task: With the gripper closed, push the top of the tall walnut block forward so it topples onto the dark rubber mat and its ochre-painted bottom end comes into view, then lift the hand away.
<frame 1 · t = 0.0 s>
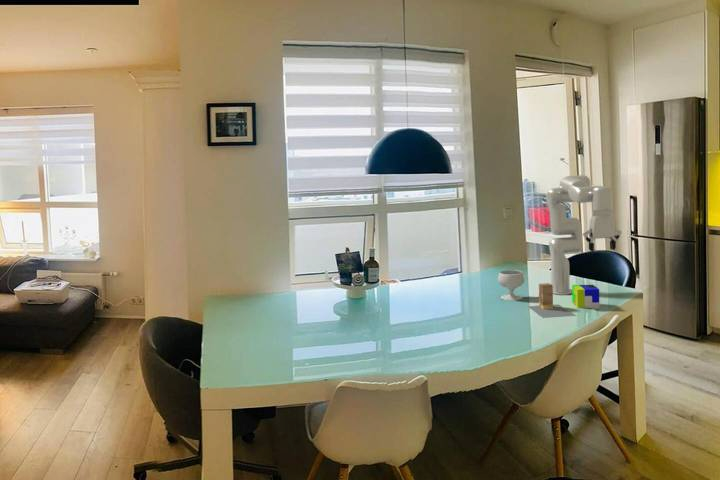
hand: (602, 250, 207), 31 cm above the table, tool pointing down, fingers open, 9 cm apart
walnut block: (546, 307, 227), point 1 cm above the table, touching rubber mat
rubber mat: (551, 311, 221), on the table
puzzle toy: (585, 306, 227), on the table
chalice: (511, 298, 250), on the table
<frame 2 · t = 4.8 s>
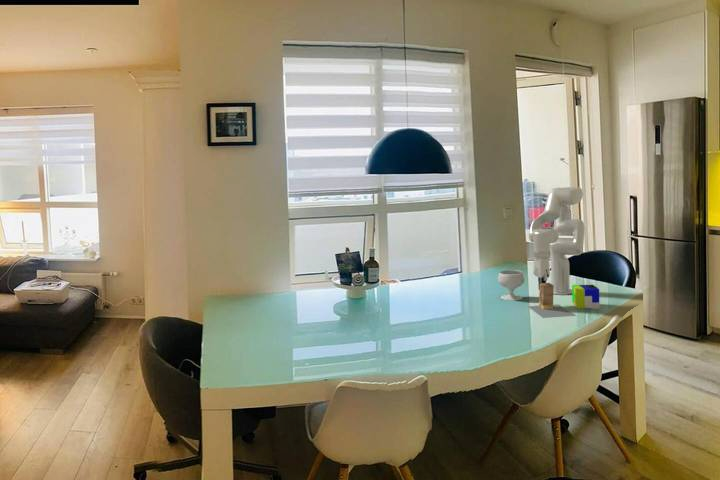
hand: (542, 289, 230), 9 cm above the table, tool pointing down, fingers closed
walnut block: (546, 307, 227), point 1 cm above the table, tilted 5°, touching rubber mat
everything else where it was.
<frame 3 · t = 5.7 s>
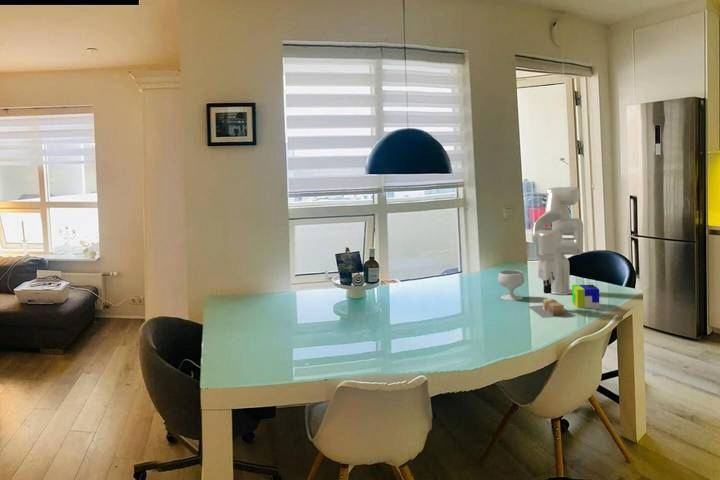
hand: (547, 292, 224), 9 cm above the table, tool pointing down, fingers closed
walnut block: (548, 304, 224), point 3 cm above the table, tilted 90°, touching rubber mat
everything else where it was.
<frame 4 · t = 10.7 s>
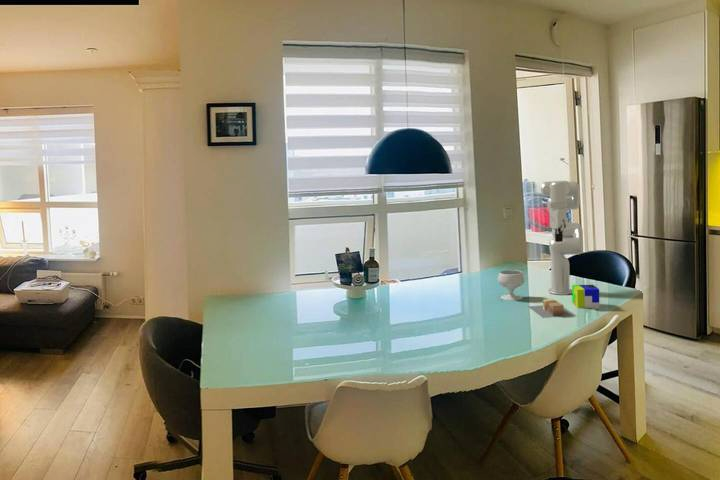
hand: (558, 241, 230), 33 cm above the table, tool pointing down, fingers closed
nothing on the table moved.
at the end: walnut block tilted 90°; walnut block inside the target area on the rubber mat (3.5 cm from its centre), point 3.1 cm above the rubber mat's base; the gripper is holding nothing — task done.
